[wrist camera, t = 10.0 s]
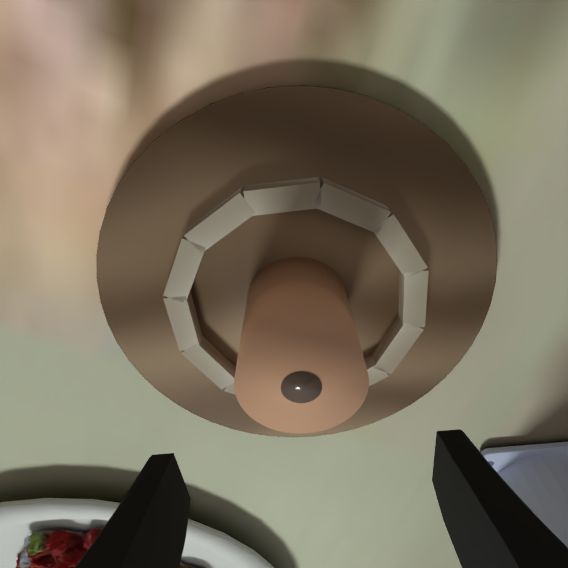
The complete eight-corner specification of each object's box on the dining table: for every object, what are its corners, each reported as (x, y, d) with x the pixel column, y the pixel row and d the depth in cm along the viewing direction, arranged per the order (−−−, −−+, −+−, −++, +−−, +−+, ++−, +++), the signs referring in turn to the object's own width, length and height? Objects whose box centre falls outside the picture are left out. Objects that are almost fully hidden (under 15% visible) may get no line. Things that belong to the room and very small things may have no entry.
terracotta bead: (348, 337, 19) (370, 429, 15) (254, 346, 20) (245, 439, 15) (344, 251, 17) (368, 326, 12) (238, 263, 18) (221, 340, 13)
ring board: (467, 411, 23) (479, 434, 22) (162, 438, 24) (154, 461, 23) (519, 54, 14) (545, 53, 13) (37, 118, 15) (13, 123, 14)
